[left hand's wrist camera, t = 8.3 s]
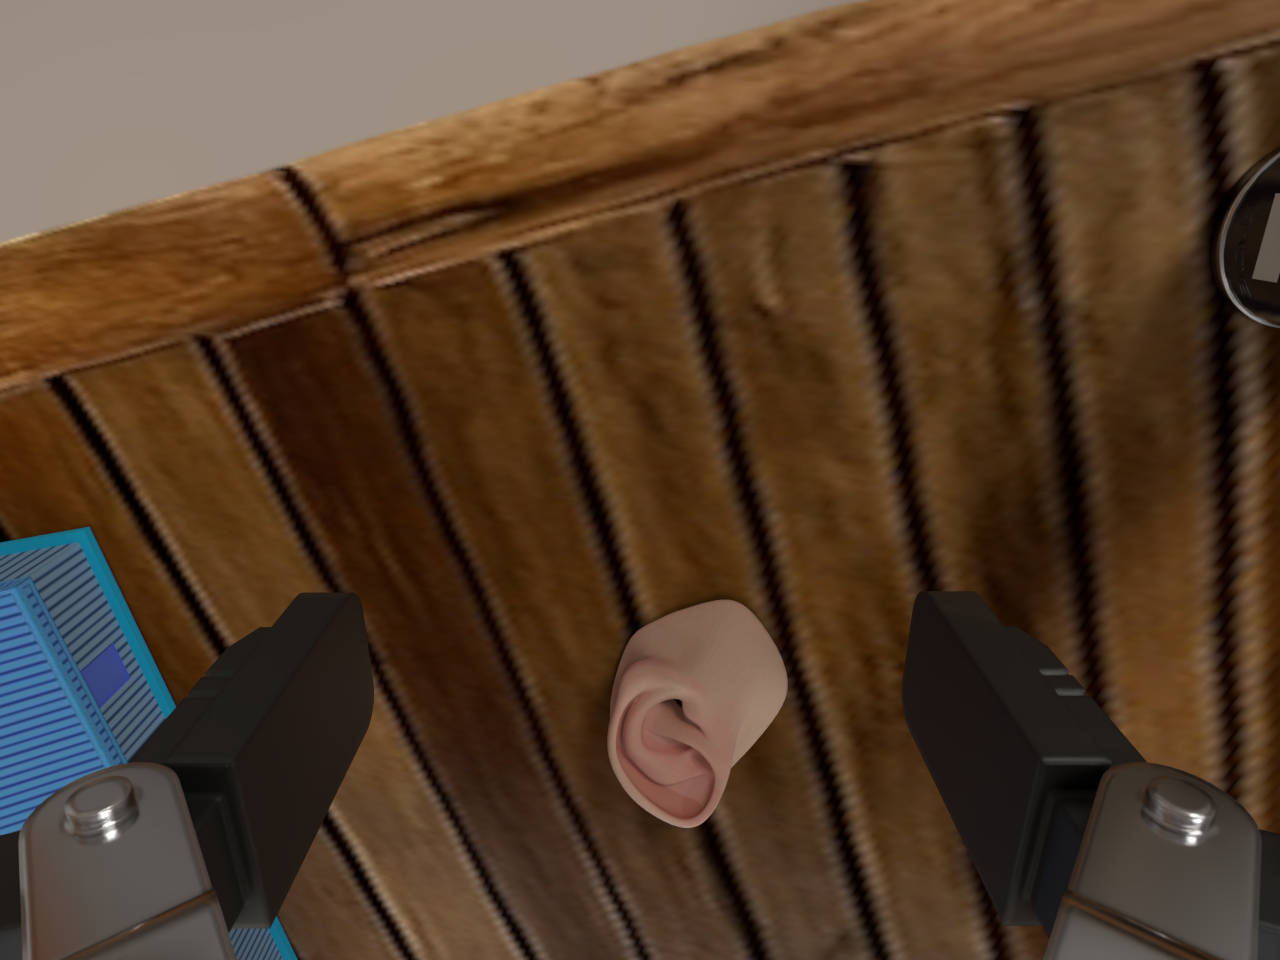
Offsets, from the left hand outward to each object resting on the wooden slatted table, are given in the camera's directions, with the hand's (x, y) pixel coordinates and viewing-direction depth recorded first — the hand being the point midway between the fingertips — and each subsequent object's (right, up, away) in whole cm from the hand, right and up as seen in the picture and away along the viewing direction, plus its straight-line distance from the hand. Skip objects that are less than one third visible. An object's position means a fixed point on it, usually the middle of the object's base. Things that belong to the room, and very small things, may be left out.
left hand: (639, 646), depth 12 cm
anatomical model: (+3, -11, +38) cm, 40 cm away
